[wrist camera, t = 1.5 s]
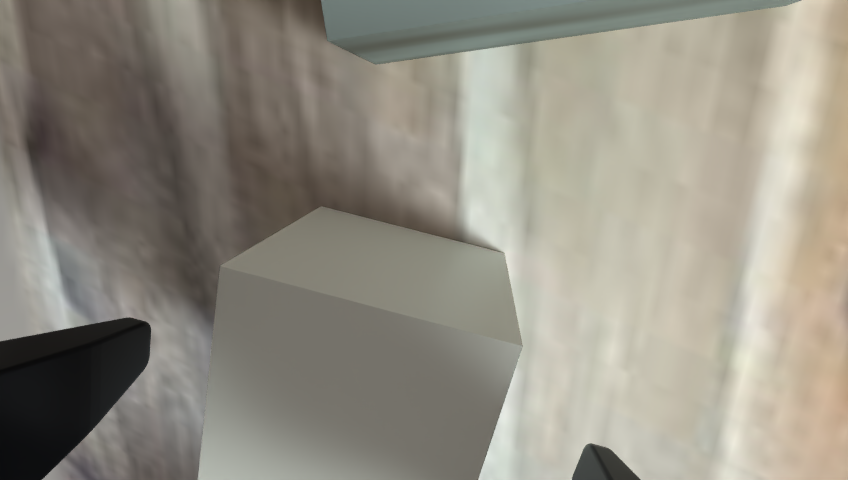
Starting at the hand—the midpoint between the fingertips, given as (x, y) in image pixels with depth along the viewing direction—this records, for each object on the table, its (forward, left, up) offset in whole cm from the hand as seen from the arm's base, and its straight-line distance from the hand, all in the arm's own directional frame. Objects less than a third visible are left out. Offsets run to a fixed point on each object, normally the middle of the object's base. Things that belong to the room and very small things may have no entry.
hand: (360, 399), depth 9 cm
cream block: (0, 0, -4) cm, 4 cm away
